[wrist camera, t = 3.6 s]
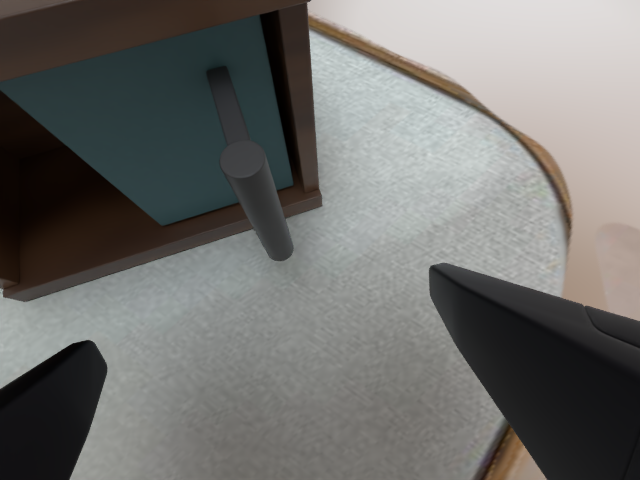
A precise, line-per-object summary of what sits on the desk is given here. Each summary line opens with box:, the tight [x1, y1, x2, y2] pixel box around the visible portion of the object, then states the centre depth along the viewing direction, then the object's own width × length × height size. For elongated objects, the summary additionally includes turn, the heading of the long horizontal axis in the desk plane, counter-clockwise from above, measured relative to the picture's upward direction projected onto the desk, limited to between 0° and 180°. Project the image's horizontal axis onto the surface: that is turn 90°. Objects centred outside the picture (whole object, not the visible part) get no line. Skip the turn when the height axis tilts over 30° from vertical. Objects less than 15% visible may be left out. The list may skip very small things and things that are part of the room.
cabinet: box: [0, 0, 322, 302], centre depth 17 cm, size 11×20×15 cm, turn 109°
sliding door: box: [0, 15, 294, 261], centre depth 15 cm, size 6×9×11 cm
